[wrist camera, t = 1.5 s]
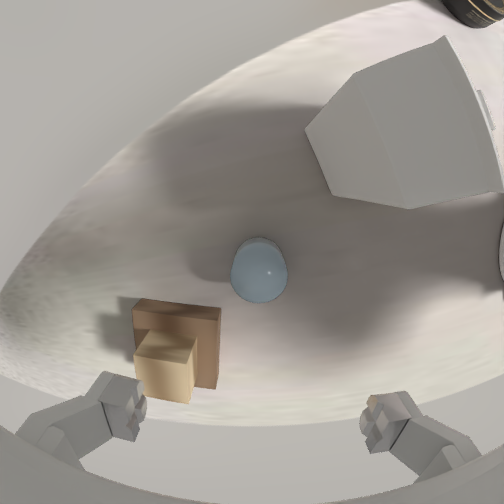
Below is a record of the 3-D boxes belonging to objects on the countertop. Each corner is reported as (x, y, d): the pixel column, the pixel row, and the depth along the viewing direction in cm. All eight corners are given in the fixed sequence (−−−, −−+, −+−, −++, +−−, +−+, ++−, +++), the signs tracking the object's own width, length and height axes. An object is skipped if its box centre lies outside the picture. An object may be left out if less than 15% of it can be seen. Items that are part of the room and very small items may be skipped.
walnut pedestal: (221, 308, 30) (217, 320, 27) (218, 373, 32) (215, 389, 29) (142, 298, 30) (131, 309, 27) (148, 363, 32) (140, 376, 29)
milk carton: (331, 196, 27) (455, 222, 8) (303, 129, 25) (383, 39, 7) (390, 172, 26) (537, 173, 8) (364, 109, 25) (487, 35, 6)
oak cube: (197, 335, 27) (186, 364, 22) (197, 374, 28) (188, 404, 24) (150, 329, 27) (132, 354, 22) (154, 367, 28) (139, 394, 24)
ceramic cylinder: (285, 239, 28) (291, 251, 23) (279, 285, 29) (284, 305, 24) (236, 235, 28) (232, 246, 23) (233, 281, 29) (228, 300, 24)
